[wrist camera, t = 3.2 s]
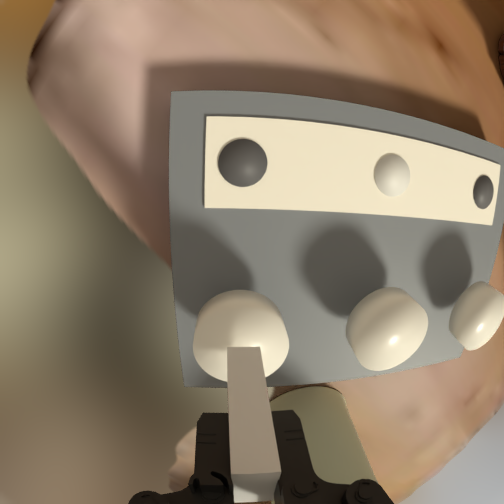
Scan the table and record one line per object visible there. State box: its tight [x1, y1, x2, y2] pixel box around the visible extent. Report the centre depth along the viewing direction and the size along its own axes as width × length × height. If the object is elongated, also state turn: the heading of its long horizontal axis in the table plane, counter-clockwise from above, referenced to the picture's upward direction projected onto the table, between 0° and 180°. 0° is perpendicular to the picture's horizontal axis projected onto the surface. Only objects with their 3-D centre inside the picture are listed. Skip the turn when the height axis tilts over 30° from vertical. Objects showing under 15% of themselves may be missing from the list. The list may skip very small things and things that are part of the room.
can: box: [270, 386, 378, 504], centre depth 22 cm, size 9×9×12 cm
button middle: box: [346, 287, 428, 371], centre depth 17 cm, size 5×5×2 cm
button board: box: [169, 90, 504, 388], centre depth 20 cm, size 20×26×3 cm
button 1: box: [449, 281, 504, 350], centre depth 17 cm, size 5×5×2 cm
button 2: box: [193, 290, 289, 382], centre depth 16 cm, size 5×5×2 cm
